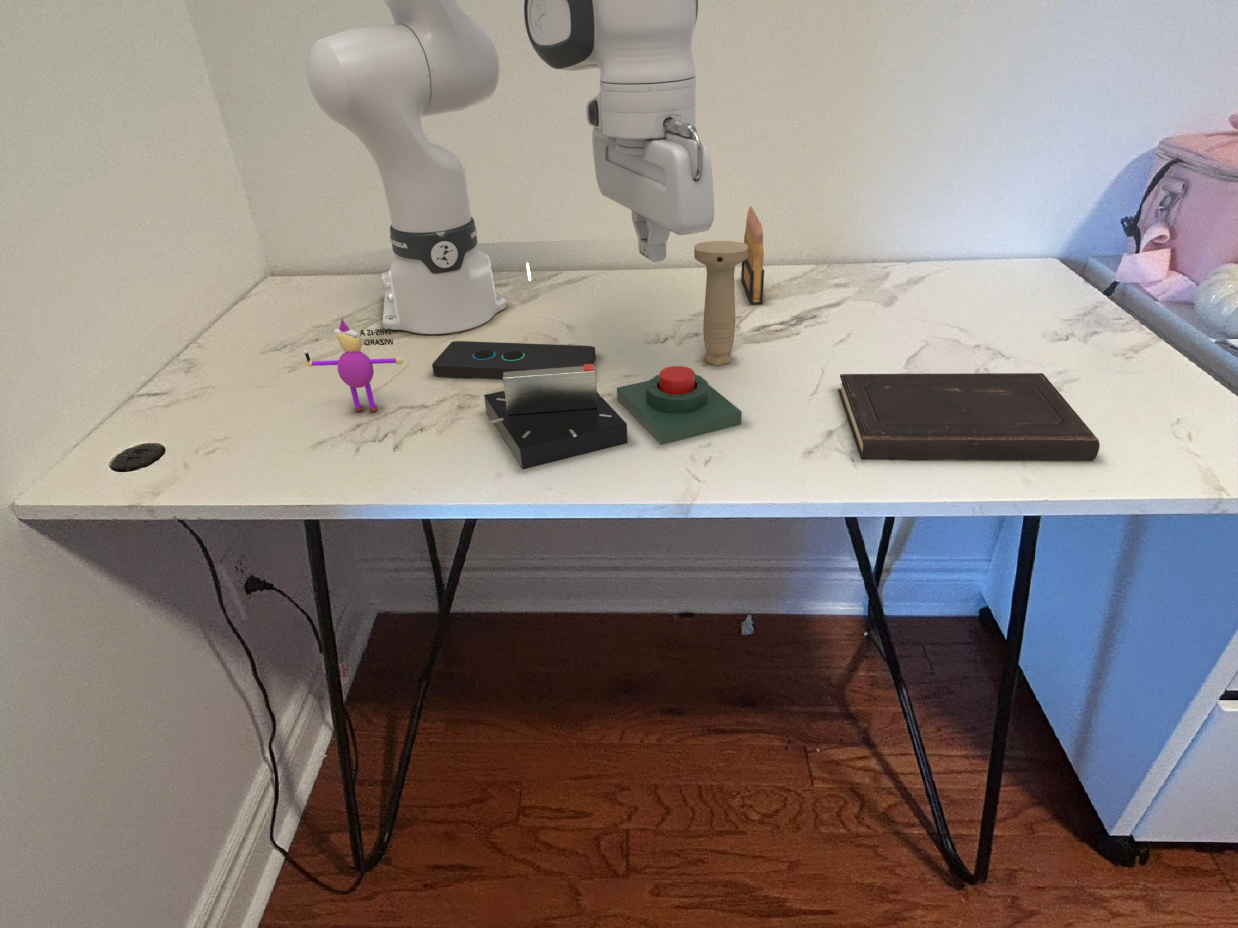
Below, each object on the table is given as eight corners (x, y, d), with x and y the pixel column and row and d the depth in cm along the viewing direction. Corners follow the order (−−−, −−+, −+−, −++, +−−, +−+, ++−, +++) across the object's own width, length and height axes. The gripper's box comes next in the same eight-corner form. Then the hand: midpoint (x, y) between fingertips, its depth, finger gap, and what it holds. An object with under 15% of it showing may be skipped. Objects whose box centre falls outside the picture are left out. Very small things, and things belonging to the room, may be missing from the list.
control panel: (477, 415, 97) (474, 395, 95) (589, 390, 101) (588, 370, 100) (512, 473, 85) (510, 451, 84) (637, 441, 90) (636, 420, 89)
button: (653, 384, 95) (653, 370, 94) (684, 377, 96) (684, 363, 95) (669, 398, 92) (668, 383, 91) (700, 391, 93) (701, 376, 92)
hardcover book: (838, 391, 98) (840, 373, 97) (1038, 390, 96) (1043, 372, 95) (861, 461, 85) (863, 441, 84) (1095, 462, 83) (1101, 442, 82)
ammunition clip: (762, 304, 123) (767, 223, 117) (750, 304, 123) (754, 224, 117) (752, 280, 133) (756, 204, 126) (740, 280, 133) (743, 205, 126)
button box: (617, 400, 99) (615, 373, 97) (691, 383, 102) (691, 356, 100) (660, 445, 89) (660, 417, 87) (741, 424, 92) (742, 396, 90)
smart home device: (452, 339, 112) (596, 344, 109) (454, 350, 113) (596, 356, 110) (429, 364, 105) (582, 371, 102) (431, 377, 106) (583, 384, 103)
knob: (507, 414, 91) (502, 375, 89) (507, 408, 92) (503, 369, 90) (597, 407, 92) (595, 369, 89) (596, 401, 93) (594, 362, 90)
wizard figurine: (414, 405, 100) (396, 311, 93) (408, 418, 97) (389, 321, 90) (323, 407, 100) (298, 314, 94) (314, 420, 97) (288, 324, 91)
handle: (742, 370, 104) (747, 253, 96) (691, 368, 105) (692, 252, 97) (744, 354, 108) (748, 241, 100) (695, 352, 109) (696, 240, 102)
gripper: (733, 122, 70) (729, 280, 77) (635, 97, 86) (640, 230, 93) (666, 131, 68) (669, 292, 75) (579, 103, 84) (588, 238, 92)
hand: (652, 257), depth 84 cm, fingers closed
